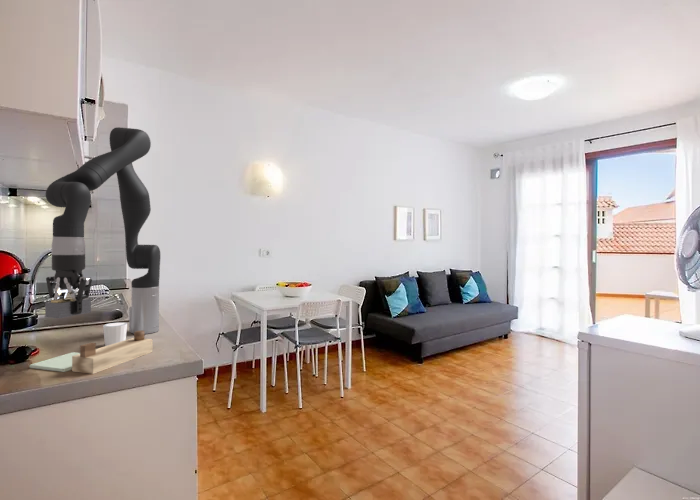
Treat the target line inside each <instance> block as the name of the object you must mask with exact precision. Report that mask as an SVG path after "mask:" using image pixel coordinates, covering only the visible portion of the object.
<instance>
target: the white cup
mask: <svg viewBox="0 0 700 500" xmlns="http://www.w3.org/2000/svg"><path fill="white" fill-rule="evenodd" d="M102 328H103V329H102V330H103V338H104V339H103V340H104V347H105V346H108V345H111V344H114V343H118V342H121V341H124V340H127V330H128V322H123V321H122V322H110V323H106V324H103V325H102Z"/></svg>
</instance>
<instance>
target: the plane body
mask: <svg viewBox="0 0 700 500" xmlns="http://www.w3.org/2000/svg"><path fill="white" fill-rule="evenodd" d="M145 335H146V334H145V331H135V332H134V334H133V337H132V338H128V339H126V340H124V341H121V342H118V343H114V344H111V345H108V346H105V345H104V346H102V347H99V348H96V345H97V344H96V342H88V343H85V344H81V345H80V346H79V349H80V350H79V353H80V354H78V355H75V356H72V369H71V370H72V371H71V372H76V373H83V374H90V375H91V374H92V375H94V374H96V373H97V374H98V373H99V372H102V371H105V370H107V369H110V368H114V367H117V366H119V365H121V364H124V363H127V362H130V361H132V360H135V359H137V358H140V357H143V356H146V355H149V354H150V353H153V349H154V347H153V346H154V345H153V343H154V342H153V339H152V338H145Z"/></svg>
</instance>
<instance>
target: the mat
mask: <svg viewBox="0 0 700 500" xmlns="http://www.w3.org/2000/svg"><path fill="white" fill-rule="evenodd" d="M78 354H80V352H77V351H76V352H74V351H71V352H68V353H66V354H63V355H62V354H61V355H58V356H55V357H52V358H49V359H46V360H42V361H39V362H38V361H37V362H35V363H32V364H29V369H37V370H45V371H53V372H63V373H65V372H68V371H71V370H72V356H75V355H78Z"/></svg>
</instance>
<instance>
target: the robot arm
mask: <svg viewBox="0 0 700 500" xmlns="http://www.w3.org/2000/svg"><path fill="white" fill-rule="evenodd" d="M151 143H152V141H151V138H150V136H149V134H148V133H147V132H146V131H144V130H143V129H140V128H131V127H114V128H112V129H111V130H110V133H109V146H110V151H107V152H105V153H102V154H99V155H97V156H95V157H93V158H91V159H89V160H88V161H86V162H85V163H84V164H82V165H81V166H80V167H78V168H77V169H76V170H75V171H73V172H70V173H67V174H66V175H63V176H62V177H60V178H58V179H55V181H52V182H51V183H50V184H49V185H48V187H47V188H46V189H45V198H46V201H47V202H48V203H49V204H50V205H52V206H54V207H55V208H56V207H57V208H65V209H64V211H63V213H62V214H61V215H58V216H55V217H54V218H53V220H52V241H51V270H52V271H54V272H55V273H54V276H53V275H52V276H47V277H46V278H45V281H46V286H47V290H48V291H47V292H48V297H49V298H53V300H56V299H64V298H67V294H70V298H72V300H73V301H72V314H74V316H77V315H76V314H80V315H82V314H81V312H82V300H83V299H85V298H88V299H89V296H90V292H91V288H92V281H93V278H92V277H90V276H89V277H86V276H84V274H83V270H85V269H86V241H85V221H86V219H87V216H88V213H89V208H90V206H91V203H92V196H91V195H92V194H91V191H95V190H97V189H98V188H100V187H101V186H102V185H103V184H104V183H106V182H107V181H108V180H109V179H110V178H111V177H112V176H114V175H115V174H116V177H117V184H118V190H119V199H120V208H121V213H122V219H123V227H124V237H125V238H124V239H125V240H124V241H125V256H126V257H125V258H126V263H127V265H128V267H129V268H130V269H133V270H144V269H145V270H147V272H146V273H145V274H144V275H142V276H139V277H136V278H134V279H132V280H131V306H130V307H129V309H128V311H129V312H128V314H129V315H128V316H129V318H128V319H129V320H128V323H129V324H128V325H129V326H128V328H129V329H128V330H129V333H132V334H133V335H134V332H135V331H145V335H147V334H152V333H156V332H159V331H160V271H161V269H160V268H161V249H160V247H159V246H158V245H157V244H139V241H138V240H139V239H138V237H139V233H140V232H141V229H142V228H143V226H144V224H145V223H146V221H147V220H148V218H149V217H150V214H151V209H152V208H151V201H150V200H151V199H150V193H149V190H148V189H147V187H146V186H145V183H143V181H142V180H141V178H140V177H139V175H138V174H137V173H136V170H135V169H134V166H133V163H134V162H135V161H138V160H140V159H141V158H143V157H144V156H145V157H146V155H147V154H148V153H149V152H150V149H151V147H152V146H151V145H152V144H151Z"/></svg>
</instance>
